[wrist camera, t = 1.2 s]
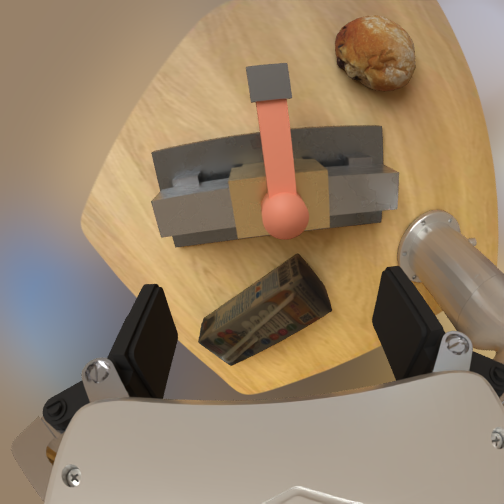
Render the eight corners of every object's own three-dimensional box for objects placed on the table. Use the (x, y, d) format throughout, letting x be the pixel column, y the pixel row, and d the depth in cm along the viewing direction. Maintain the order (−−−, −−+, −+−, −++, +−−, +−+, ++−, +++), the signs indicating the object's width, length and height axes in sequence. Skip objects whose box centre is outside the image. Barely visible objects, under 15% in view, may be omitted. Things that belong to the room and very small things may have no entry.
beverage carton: (199, 316, 44) (194, 345, 39) (297, 248, 38) (305, 275, 33) (233, 341, 47) (231, 371, 42) (327, 283, 42) (337, 312, 36)
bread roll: (388, 90, 30) (436, 90, 24) (337, 95, 28) (391, 91, 21) (372, 26, 26) (418, 17, 19) (316, 20, 23) (366, 1, 16)
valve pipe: (378, 125, 30) (413, 134, 22) (378, 219, 36) (406, 248, 29) (154, 151, 31) (126, 166, 24) (177, 243, 38) (160, 279, 30)
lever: (304, 223, 27) (310, 236, 25) (263, 228, 27) (265, 241, 25) (288, 66, 20) (293, 61, 17) (241, 71, 20) (240, 66, 18)
